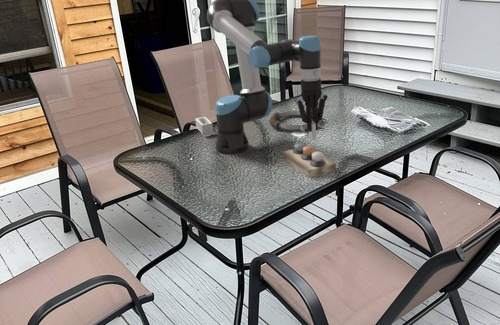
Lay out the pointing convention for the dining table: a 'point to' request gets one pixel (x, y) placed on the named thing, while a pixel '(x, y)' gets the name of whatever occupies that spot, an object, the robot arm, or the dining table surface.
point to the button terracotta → (308, 150)
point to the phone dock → (204, 126)
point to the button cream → (317, 156)
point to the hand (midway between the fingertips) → (312, 138)
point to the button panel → (309, 163)
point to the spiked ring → (279, 125)
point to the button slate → (299, 146)
